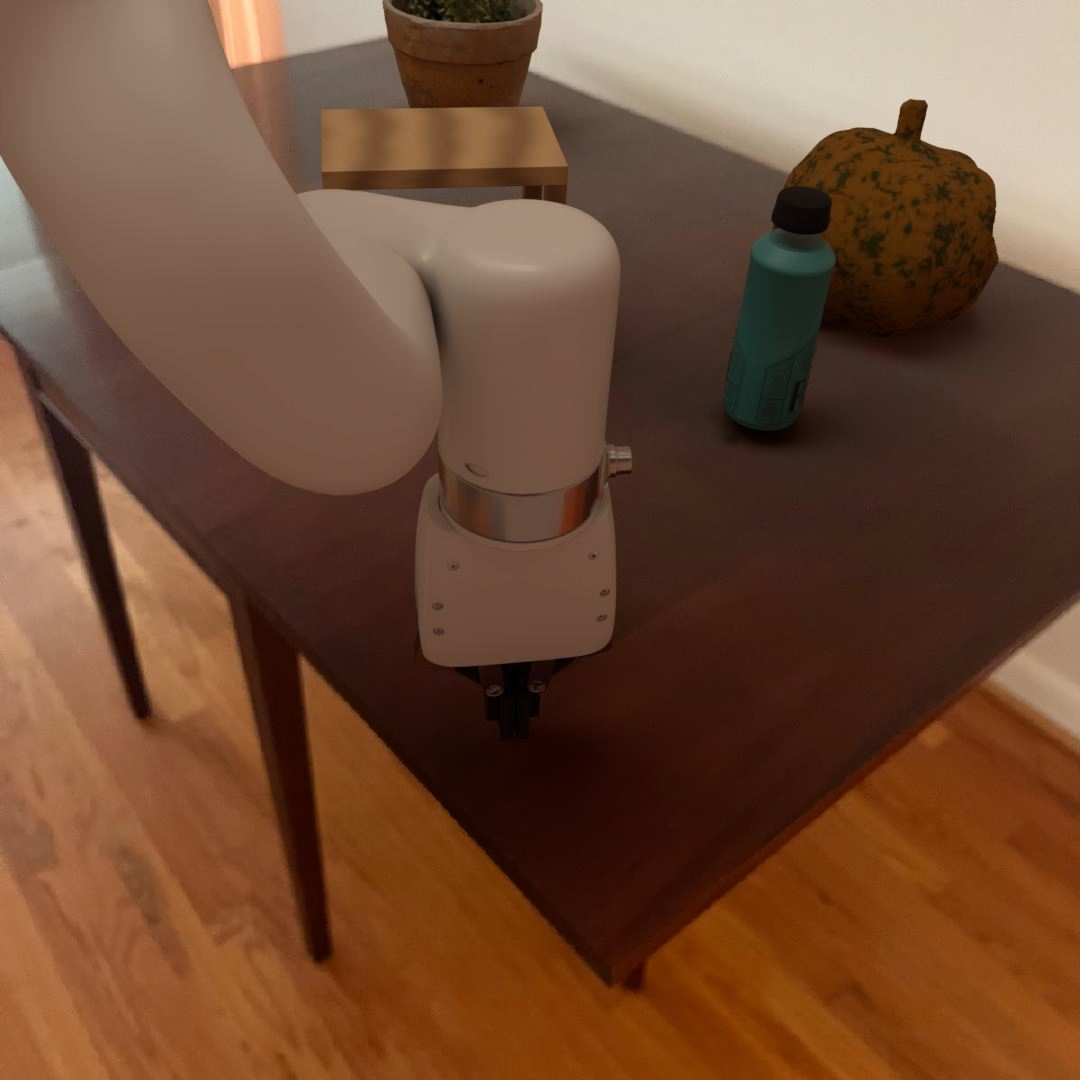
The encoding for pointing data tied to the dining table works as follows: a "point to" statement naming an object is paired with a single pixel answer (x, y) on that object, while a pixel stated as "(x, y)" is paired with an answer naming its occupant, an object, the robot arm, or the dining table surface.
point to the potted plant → (463, 50)
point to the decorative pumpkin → (901, 225)
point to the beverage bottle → (781, 313)
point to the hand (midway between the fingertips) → (510, 720)
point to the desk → (443, 150)
